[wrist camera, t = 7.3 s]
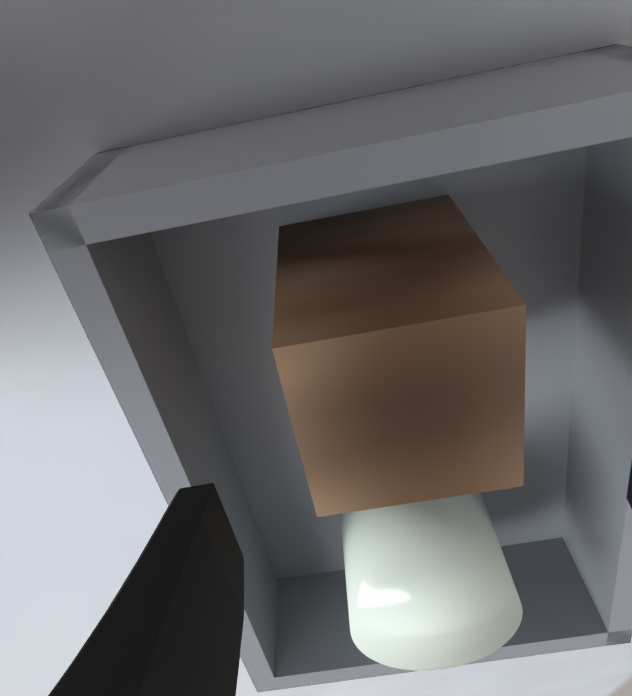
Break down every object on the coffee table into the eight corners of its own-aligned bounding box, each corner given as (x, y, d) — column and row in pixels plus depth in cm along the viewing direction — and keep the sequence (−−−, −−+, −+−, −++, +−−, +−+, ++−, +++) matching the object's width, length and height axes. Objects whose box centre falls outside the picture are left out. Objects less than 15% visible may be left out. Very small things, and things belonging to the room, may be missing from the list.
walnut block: (310, 363, 18) (317, 517, 13) (279, 226, 15) (271, 348, 10) (457, 338, 17) (523, 486, 12) (448, 194, 15) (526, 304, 10)
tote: (262, 581, 24) (257, 692, 21) (96, 153, 15) (29, 214, 11) (575, 535, 23) (630, 642, 20) (616, 44, 14) (737, 69, 10)
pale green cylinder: (350, 548, 23) (363, 679, 18) (327, 455, 20) (337, 584, 16) (479, 529, 22) (522, 658, 18) (473, 432, 20) (523, 557, 15)
